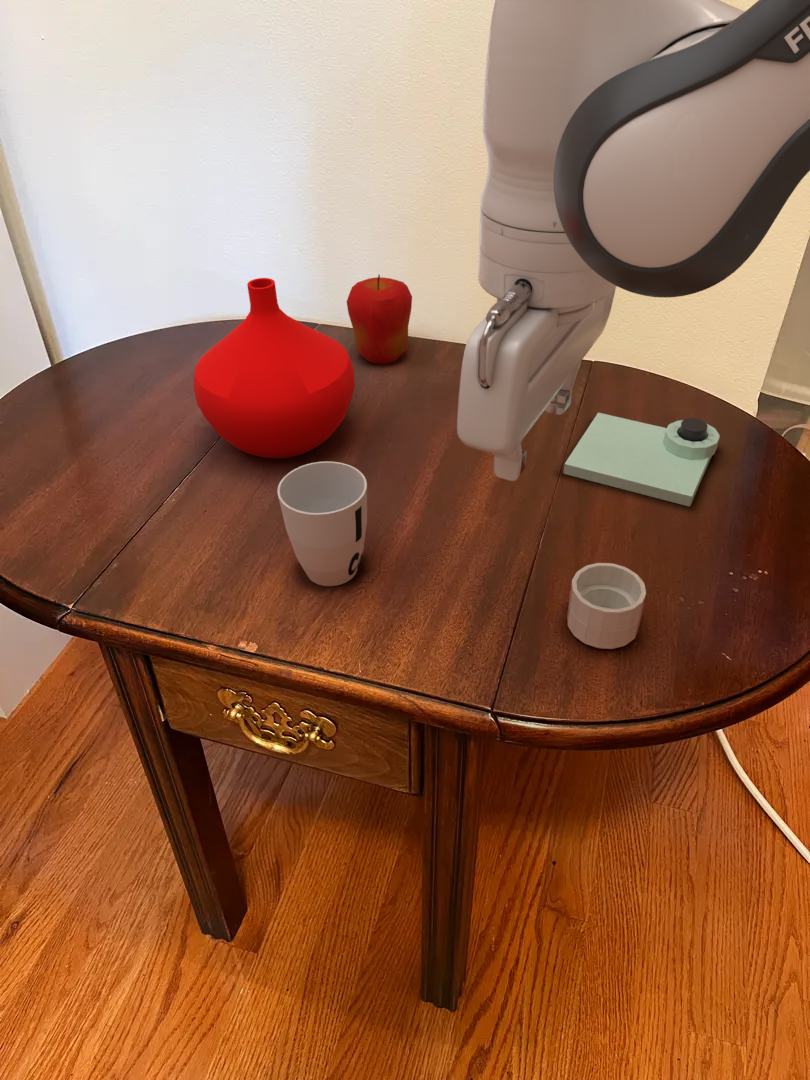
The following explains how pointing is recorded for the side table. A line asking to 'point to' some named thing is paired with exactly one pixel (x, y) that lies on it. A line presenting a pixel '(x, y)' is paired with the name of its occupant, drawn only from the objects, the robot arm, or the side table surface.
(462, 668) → the side table surface
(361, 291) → the apple
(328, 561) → the cup
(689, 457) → the scale
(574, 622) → the bowl
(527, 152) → the robot arm
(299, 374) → the vase
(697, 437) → the tare button
